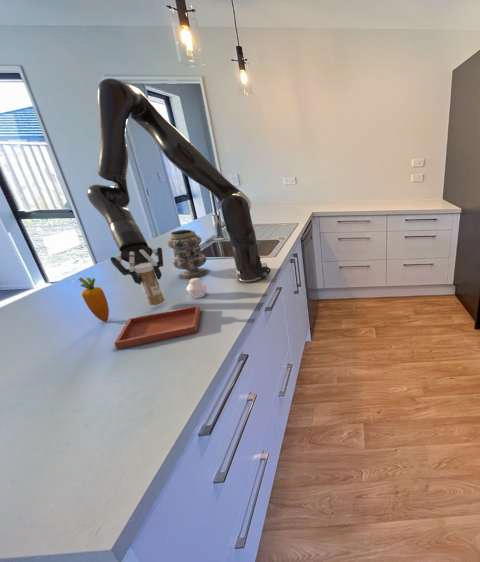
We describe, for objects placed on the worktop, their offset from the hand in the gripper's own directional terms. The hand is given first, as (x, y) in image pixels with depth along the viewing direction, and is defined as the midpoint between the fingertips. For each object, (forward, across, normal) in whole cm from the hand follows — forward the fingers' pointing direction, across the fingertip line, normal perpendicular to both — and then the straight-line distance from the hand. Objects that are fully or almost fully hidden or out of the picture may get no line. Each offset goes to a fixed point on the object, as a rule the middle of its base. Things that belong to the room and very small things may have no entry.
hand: (149, 280), depth 95 cm
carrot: (+5, -14, +9) cm, 17 cm away
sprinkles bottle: (+5, 0, +8) cm, 9 cm away
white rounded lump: (+7, +12, +8) cm, 16 cm away
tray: (+18, -2, -3) cm, 18 cm away
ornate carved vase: (-10, +18, +25) cm, 32 cm away
